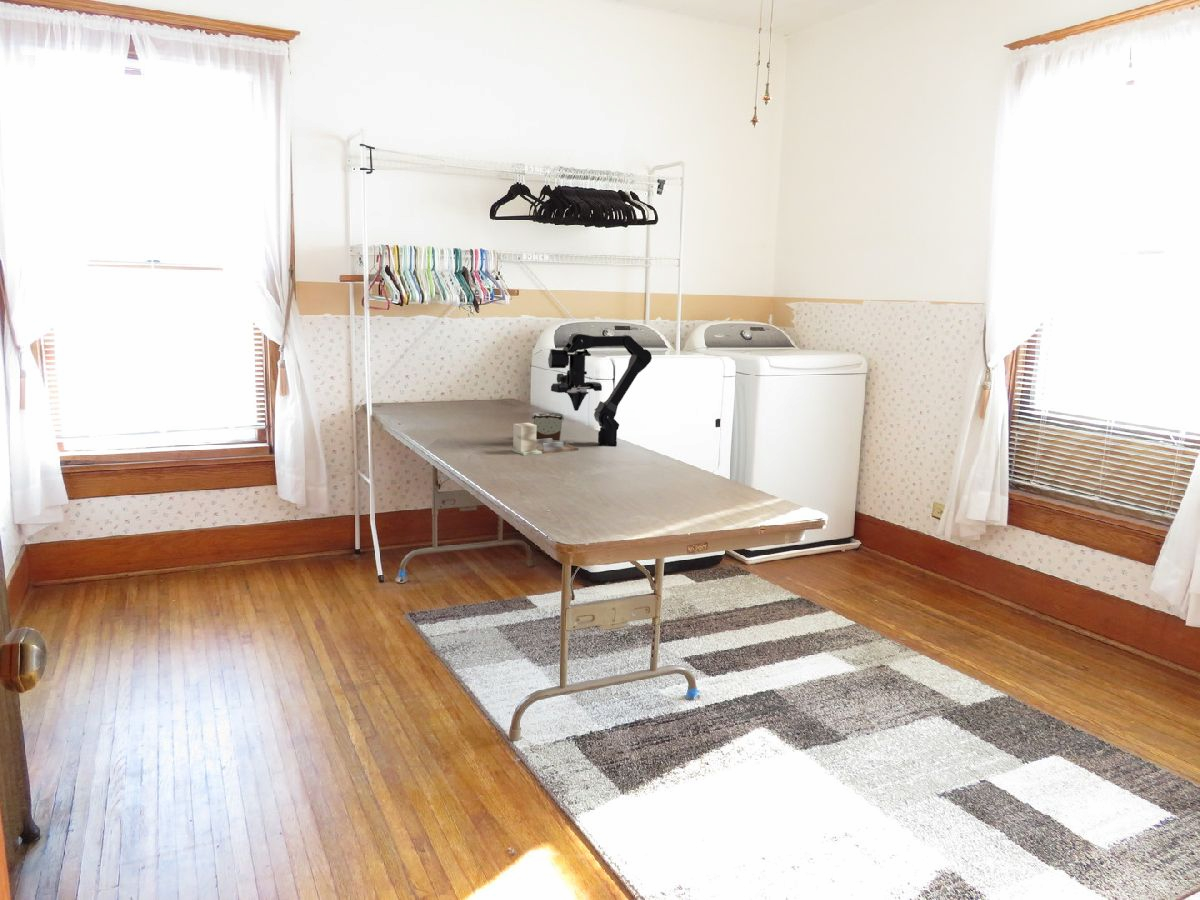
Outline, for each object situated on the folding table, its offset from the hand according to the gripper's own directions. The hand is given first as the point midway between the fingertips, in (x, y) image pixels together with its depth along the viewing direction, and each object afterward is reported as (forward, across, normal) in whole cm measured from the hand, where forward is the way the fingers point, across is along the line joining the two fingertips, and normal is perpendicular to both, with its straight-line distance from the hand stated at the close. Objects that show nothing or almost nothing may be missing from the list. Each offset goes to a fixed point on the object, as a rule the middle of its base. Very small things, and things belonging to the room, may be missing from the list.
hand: (576, 410), depth 319 cm
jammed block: (+12, +23, +4) cm, 26 cm away
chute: (+13, +15, +4) cm, 20 cm away
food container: (+13, +3, -15) cm, 20 cm away
